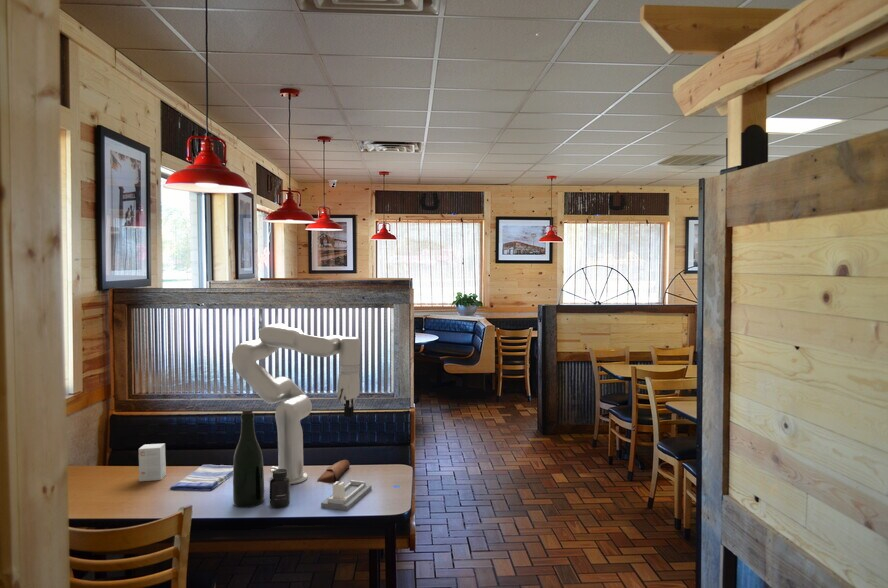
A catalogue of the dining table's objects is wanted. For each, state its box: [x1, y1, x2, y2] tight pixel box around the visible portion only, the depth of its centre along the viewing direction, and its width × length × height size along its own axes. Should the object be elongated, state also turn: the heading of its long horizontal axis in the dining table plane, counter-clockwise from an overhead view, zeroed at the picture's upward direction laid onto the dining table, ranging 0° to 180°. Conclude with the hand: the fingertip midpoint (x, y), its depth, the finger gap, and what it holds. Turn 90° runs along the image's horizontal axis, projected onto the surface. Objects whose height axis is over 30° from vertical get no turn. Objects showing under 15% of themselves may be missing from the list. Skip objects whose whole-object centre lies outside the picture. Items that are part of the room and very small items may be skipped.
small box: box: [137, 443, 167, 482], centre depth 222 cm, size 8×6×13 cm
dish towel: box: [169, 464, 233, 492], centre depth 221 cm, size 17×24×3 cm
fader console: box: [320, 479, 372, 511], centre depth 201 cm, size 20×10×3 cm, turn 163°
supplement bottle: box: [269, 469, 291, 509], centre depth 195 cm, size 7×7×12 cm
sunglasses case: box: [316, 459, 351, 483], centre depth 226 cm, size 18×7×7 cm, turn 173°
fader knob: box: [332, 480, 346, 499], centre depth 195 cm, size 3×3×6 cm
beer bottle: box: [232, 408, 265, 508], centre depth 198 cm, size 10×10×33 cm
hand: (348, 416), depth 214 cm, fingers closed
